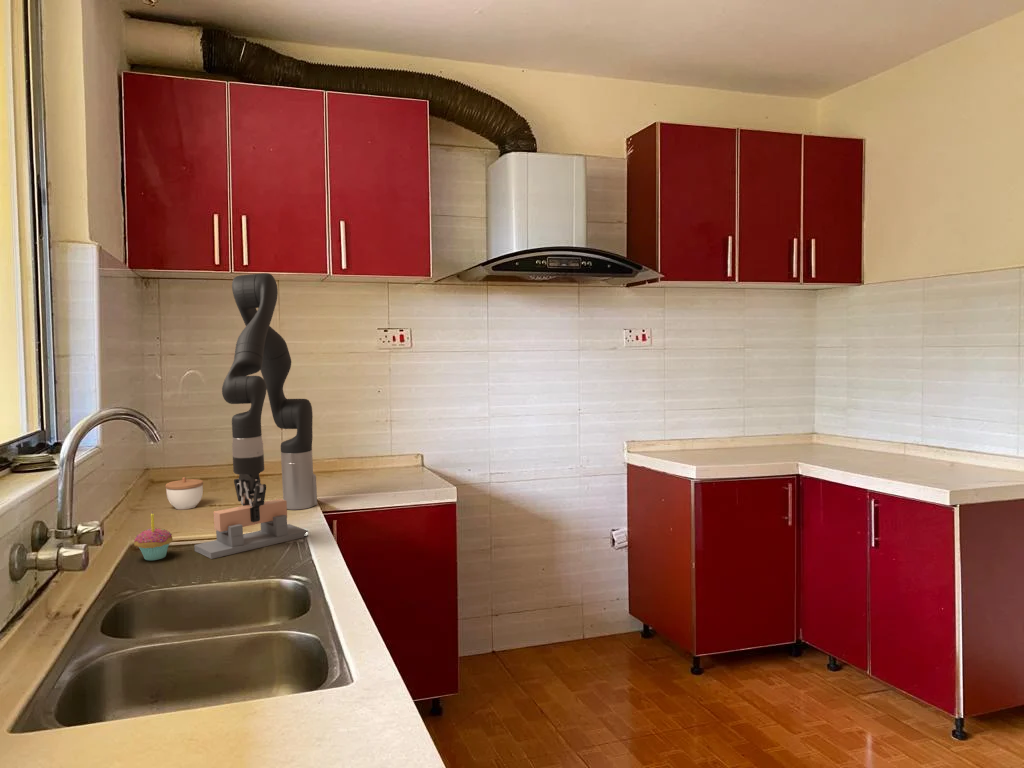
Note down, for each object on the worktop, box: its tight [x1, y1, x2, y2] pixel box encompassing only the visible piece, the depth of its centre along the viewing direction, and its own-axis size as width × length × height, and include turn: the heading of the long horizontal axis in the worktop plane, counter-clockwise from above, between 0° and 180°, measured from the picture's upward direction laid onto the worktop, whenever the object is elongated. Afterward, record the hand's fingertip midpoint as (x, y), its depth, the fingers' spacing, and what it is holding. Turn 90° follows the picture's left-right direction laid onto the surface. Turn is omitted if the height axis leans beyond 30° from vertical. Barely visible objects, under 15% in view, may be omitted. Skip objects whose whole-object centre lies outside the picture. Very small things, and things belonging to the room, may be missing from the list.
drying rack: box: [193, 515, 309, 560], centre depth 200 cm, size 26×10×6 cm, turn 134°
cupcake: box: [133, 511, 173, 561], centre depth 190 cm, size 9×8×12 cm
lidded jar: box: [165, 476, 204, 511], centre depth 241 cm, size 11×11×9 cm
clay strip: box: [213, 498, 288, 532], centre depth 200 cm, size 18×4×4 cm, turn 134°
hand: (251, 519), depth 200 cm, fingers closed on clay strip, 3 cm apart
